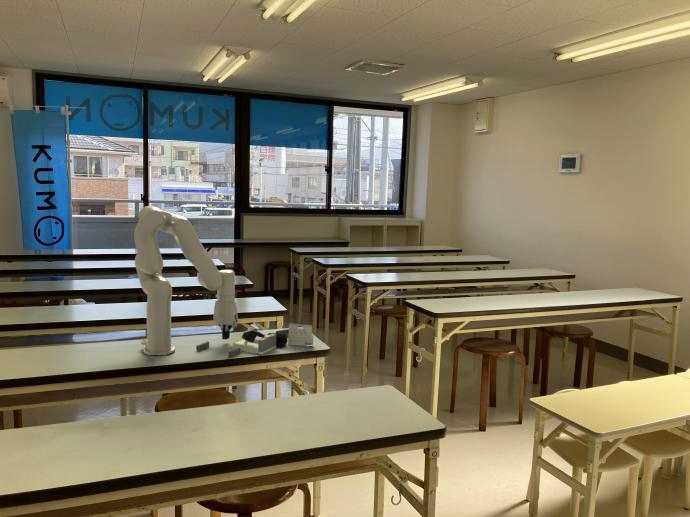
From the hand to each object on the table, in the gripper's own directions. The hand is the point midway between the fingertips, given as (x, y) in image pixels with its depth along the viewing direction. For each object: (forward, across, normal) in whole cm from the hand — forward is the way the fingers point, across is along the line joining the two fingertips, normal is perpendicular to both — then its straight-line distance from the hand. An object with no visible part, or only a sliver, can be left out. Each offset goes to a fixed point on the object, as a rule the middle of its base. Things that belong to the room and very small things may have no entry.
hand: (225, 338), depth 255 cm
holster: (+2, +5, -12) cm, 13 cm away
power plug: (0, +15, +2) cm, 15 cm away
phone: (+2, +18, +26) cm, 31 cm away
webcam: (+2, +20, +8) cm, 22 cm away
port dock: (+2, +14, 0) cm, 14 cm away
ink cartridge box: (+2, +30, +14) cm, 33 cm away
